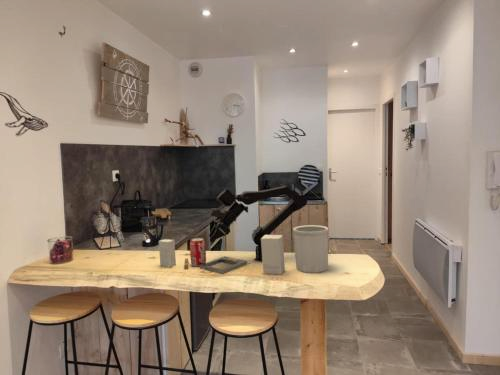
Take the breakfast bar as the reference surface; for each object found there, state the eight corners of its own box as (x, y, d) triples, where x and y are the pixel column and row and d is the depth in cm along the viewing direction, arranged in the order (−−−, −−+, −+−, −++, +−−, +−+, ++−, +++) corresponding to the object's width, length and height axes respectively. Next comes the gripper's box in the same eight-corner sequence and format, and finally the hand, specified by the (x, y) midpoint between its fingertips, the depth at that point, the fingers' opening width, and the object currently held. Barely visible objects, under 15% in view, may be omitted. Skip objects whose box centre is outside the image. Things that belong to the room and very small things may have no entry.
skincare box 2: (285, 270, 155) (284, 234, 154) (281, 275, 149) (280, 238, 148) (266, 269, 158) (265, 234, 157) (261, 274, 152) (260, 237, 150)
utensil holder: (288, 265, 162) (287, 226, 160) (317, 260, 167) (316, 223, 165) (305, 275, 148) (304, 233, 146) (336, 269, 154) (335, 229, 152)
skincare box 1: (176, 265, 169) (174, 239, 168) (170, 267, 165) (169, 241, 164) (165, 263, 172) (164, 238, 170) (159, 266, 168) (158, 241, 166)
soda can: (207, 262, 171) (206, 237, 170) (204, 267, 164) (203, 241, 163) (193, 262, 172) (191, 237, 171) (189, 267, 165) (187, 241, 164)
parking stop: (185, 262, 172) (184, 258, 172) (188, 262, 172) (188, 258, 172) (184, 269, 162) (184, 264, 162) (187, 269, 162) (187, 264, 162)
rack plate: (247, 264, 166) (247, 260, 166) (222, 274, 154) (222, 270, 154) (225, 259, 175) (225, 255, 175) (200, 268, 163) (200, 264, 163)
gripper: (218, 199, 176) (196, 223, 175) (221, 204, 158) (197, 231, 157) (235, 214, 178) (213, 238, 177) (240, 221, 160) (216, 247, 159)
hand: (210, 238), depth 168 cm, fingers open, 9 cm apart
